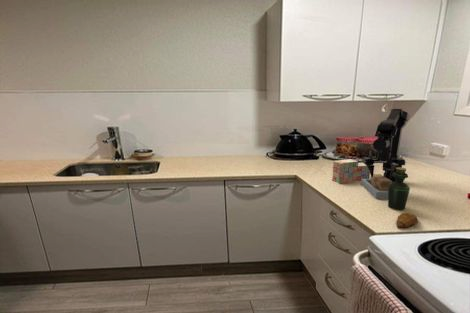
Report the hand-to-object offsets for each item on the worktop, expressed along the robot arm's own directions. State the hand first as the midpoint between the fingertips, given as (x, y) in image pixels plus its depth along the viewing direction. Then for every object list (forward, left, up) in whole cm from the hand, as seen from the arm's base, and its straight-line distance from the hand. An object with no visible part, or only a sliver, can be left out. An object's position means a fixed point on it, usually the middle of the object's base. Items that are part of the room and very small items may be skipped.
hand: (381, 177), depth 132 cm
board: (0, 0, -6) cm, 6 cm away
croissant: (+4, +35, -8) cm, 37 cm away
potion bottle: (+1, +20, -8) cm, 21 cm away
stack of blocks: (+9, -19, -8) cm, 22 cm away
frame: (0, 0, -8) cm, 8 cm away
